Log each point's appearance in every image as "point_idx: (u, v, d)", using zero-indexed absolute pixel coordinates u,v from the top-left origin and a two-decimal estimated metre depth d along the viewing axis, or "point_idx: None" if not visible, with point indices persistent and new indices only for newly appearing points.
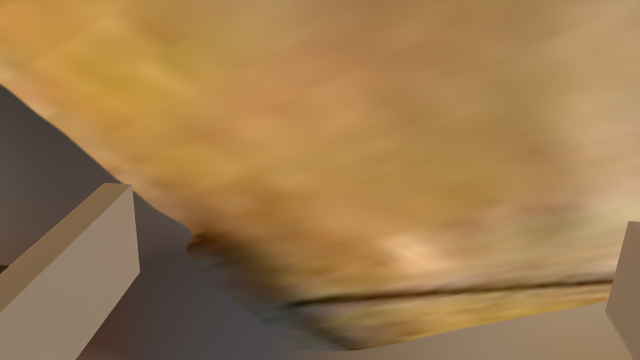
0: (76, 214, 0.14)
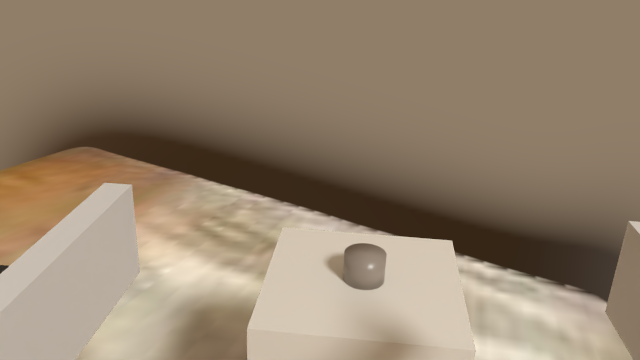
0: (76, 214, 0.14)
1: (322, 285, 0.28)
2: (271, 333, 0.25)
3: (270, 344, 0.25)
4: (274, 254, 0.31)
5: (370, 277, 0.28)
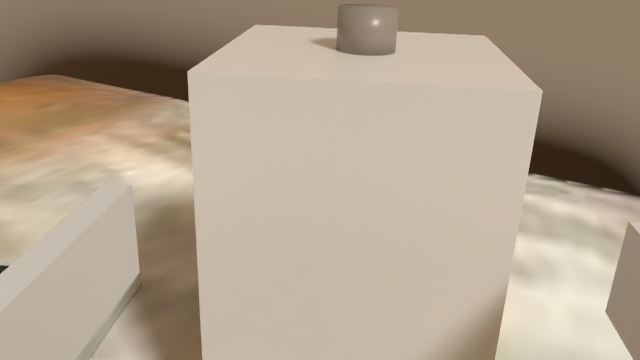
0: (76, 214, 0.14)
1: (305, 52, 0.19)
2: (225, 78, 0.16)
3: (224, 98, 0.16)
4: (240, 36, 0.22)
5: (375, 33, 0.19)
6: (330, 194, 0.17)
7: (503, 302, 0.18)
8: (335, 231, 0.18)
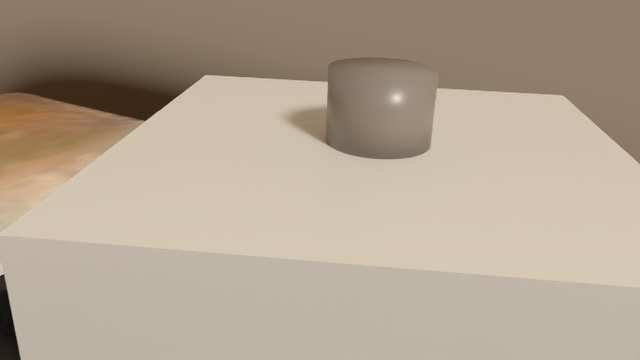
0: None
1: (270, 150, 0.11)
2: (78, 250, 0.07)
3: (79, 288, 0.08)
4: (169, 105, 0.13)
5: (397, 121, 0.10)
6: None
7: None
8: None
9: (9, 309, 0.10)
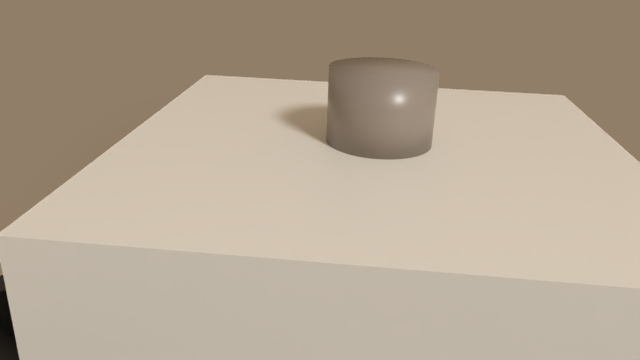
0: None
1: (270, 150, 0.11)
2: (78, 251, 0.07)
3: (79, 289, 0.08)
4: (169, 104, 0.13)
5: (398, 120, 0.10)
6: None
7: None
8: None
9: (9, 309, 0.10)
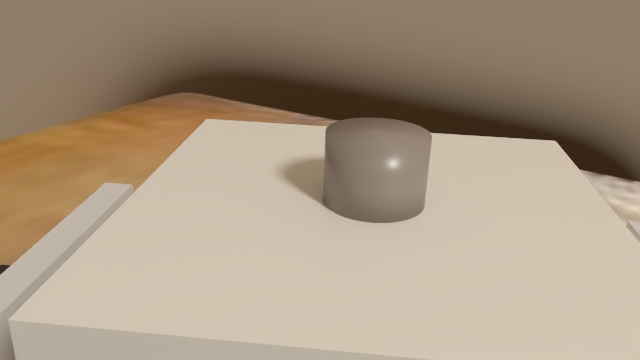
0: (77, 214, 0.14)
1: (268, 212, 0.11)
2: (86, 334, 0.08)
3: None
4: (171, 157, 0.14)
5: (391, 187, 0.11)
6: None
7: None
8: None
9: None
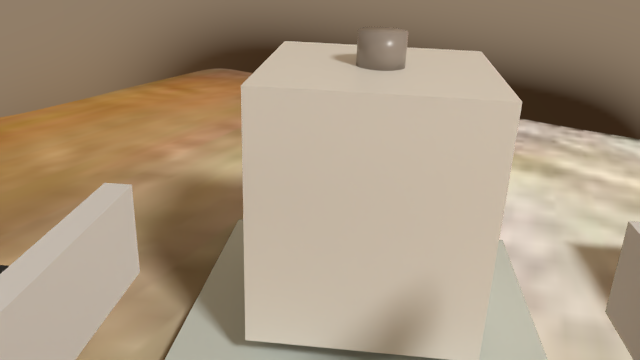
0: (76, 214, 0.14)
1: (331, 67, 0.24)
2: (271, 91, 0.20)
3: (269, 106, 0.21)
4: (275, 52, 0.26)
5: (389, 53, 0.23)
6: (353, 183, 0.21)
7: (492, 272, 0.22)
8: (356, 213, 0.22)
9: None
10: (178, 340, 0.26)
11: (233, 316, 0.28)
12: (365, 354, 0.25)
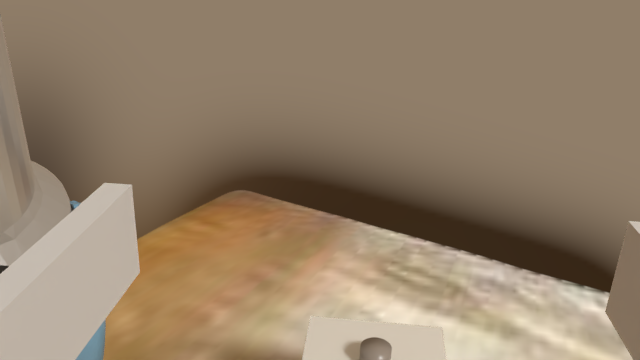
0: (76, 214, 0.14)
1: None
2: None
3: None
4: (306, 342, 0.40)
5: None
6: None
7: None
8: None
9: None
10: None
11: None
12: None
